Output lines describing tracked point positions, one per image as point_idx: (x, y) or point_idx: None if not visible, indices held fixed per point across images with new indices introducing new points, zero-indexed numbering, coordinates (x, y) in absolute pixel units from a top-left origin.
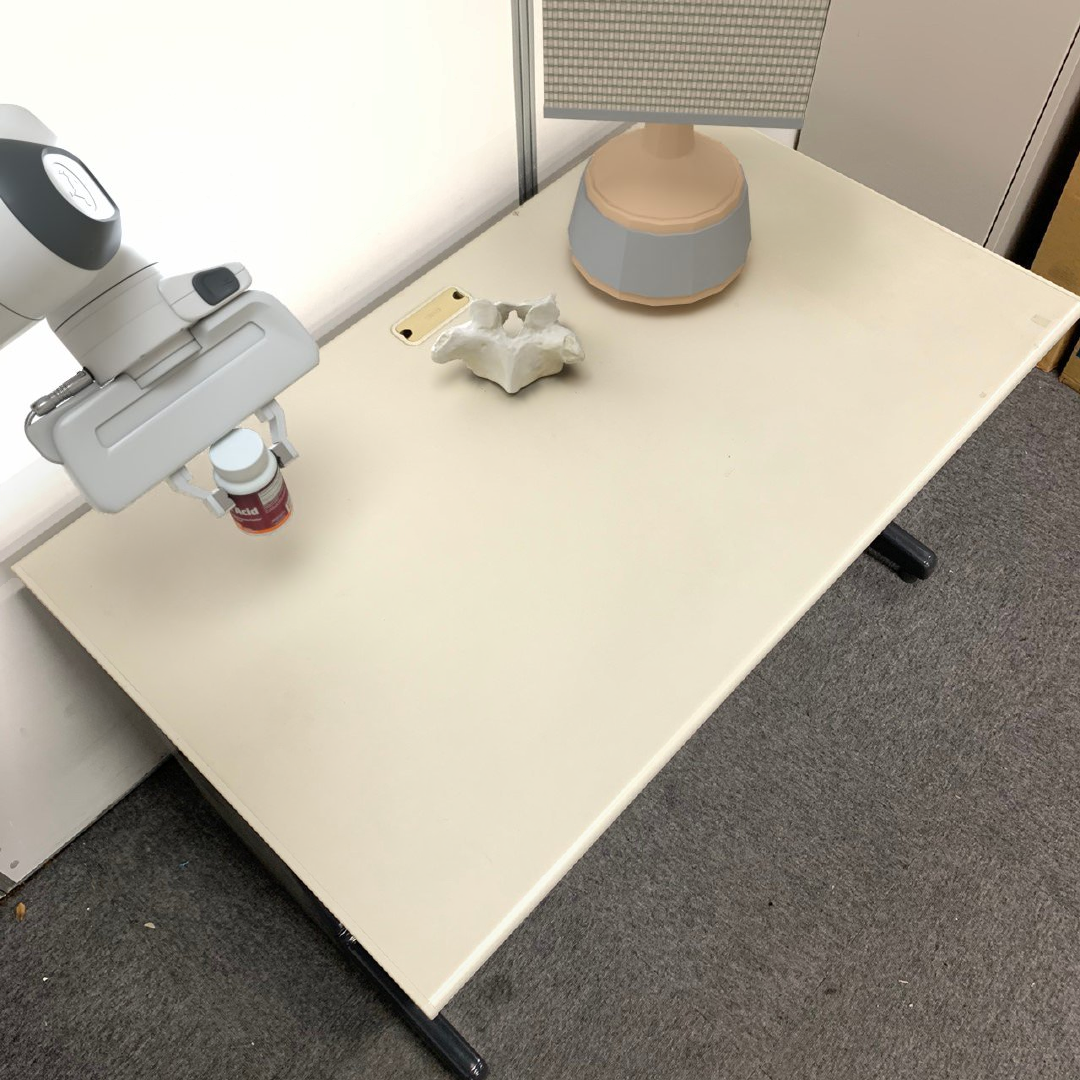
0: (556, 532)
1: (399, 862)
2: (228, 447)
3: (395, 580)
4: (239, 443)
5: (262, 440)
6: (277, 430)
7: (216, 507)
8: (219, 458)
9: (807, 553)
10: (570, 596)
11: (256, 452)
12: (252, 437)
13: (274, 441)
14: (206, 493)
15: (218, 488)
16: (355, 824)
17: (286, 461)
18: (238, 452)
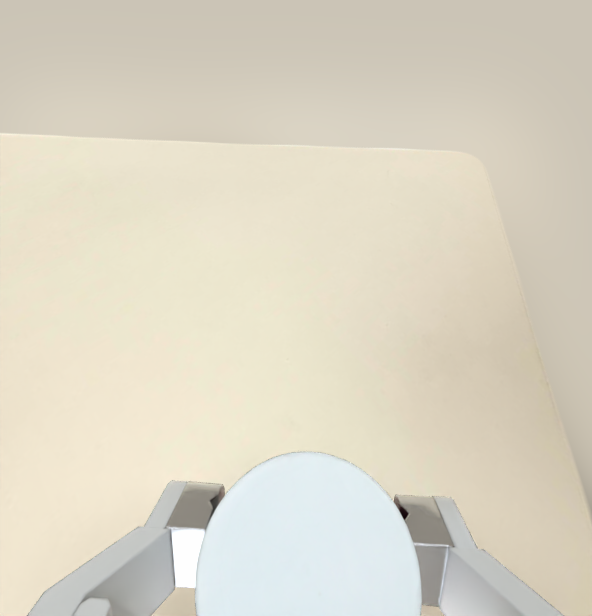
0: (93, 291)
1: (441, 207)
2: (323, 610)
3: (238, 385)
4: (279, 583)
5: (216, 508)
6: (135, 557)
7: (453, 513)
8: (388, 589)
9: (37, 149)
10: (159, 243)
11: (271, 480)
12: (226, 556)
13: (168, 574)
14: (471, 558)
15: None
16: (452, 245)
17: (209, 485)
18: (314, 542)
